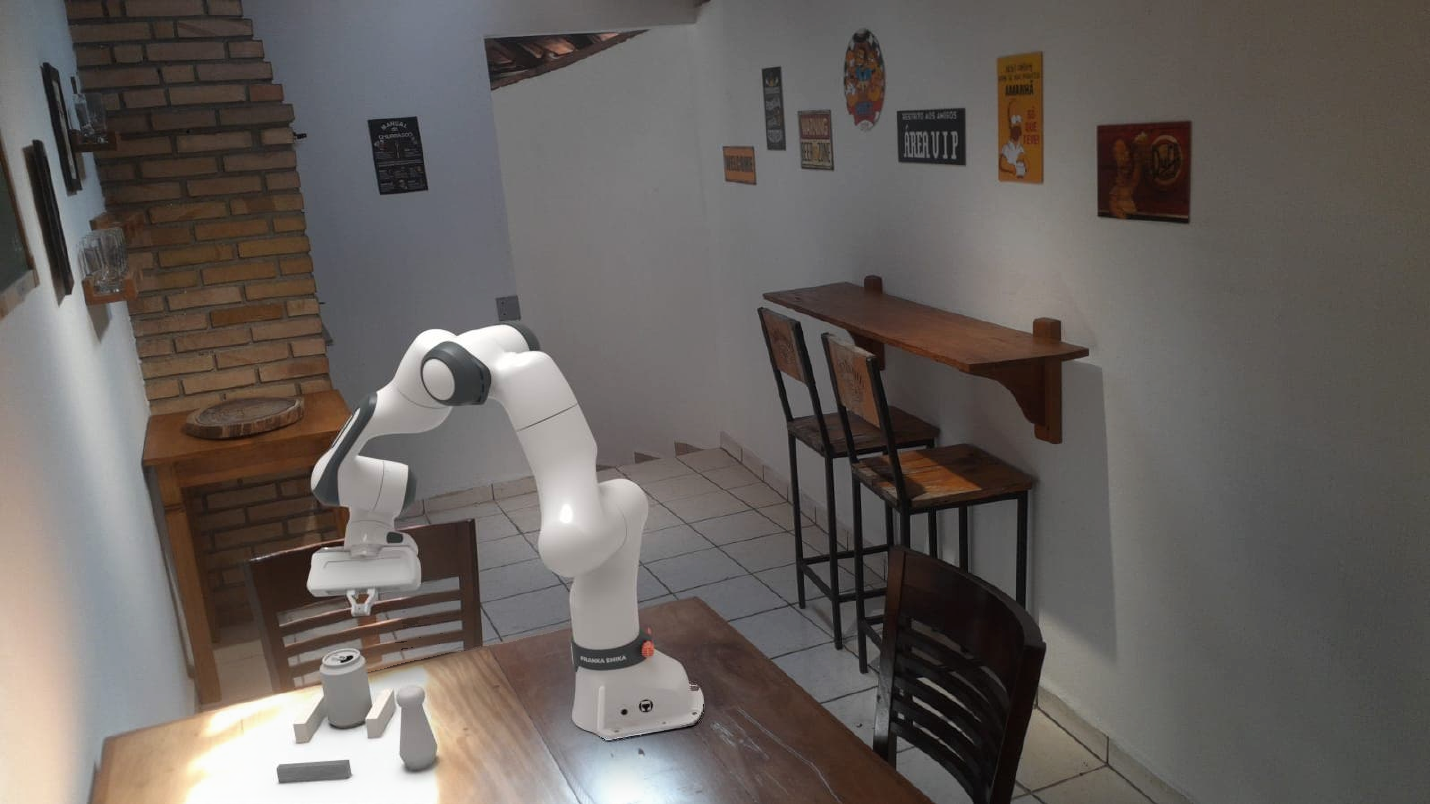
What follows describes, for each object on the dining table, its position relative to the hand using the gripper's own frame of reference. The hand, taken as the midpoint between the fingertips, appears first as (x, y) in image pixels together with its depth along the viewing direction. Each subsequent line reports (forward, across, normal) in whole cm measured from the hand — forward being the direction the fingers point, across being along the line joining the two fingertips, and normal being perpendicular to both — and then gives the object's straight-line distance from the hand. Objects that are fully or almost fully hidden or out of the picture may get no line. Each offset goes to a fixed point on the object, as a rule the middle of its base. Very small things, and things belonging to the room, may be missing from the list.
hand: (360, 614), depth 196 cm
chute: (+20, 0, 0) cm, 20 cm away
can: (+18, 0, +2) cm, 19 cm away
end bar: (+31, 0, -12) cm, 33 cm away
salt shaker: (+30, +16, -10) cm, 35 cm away
